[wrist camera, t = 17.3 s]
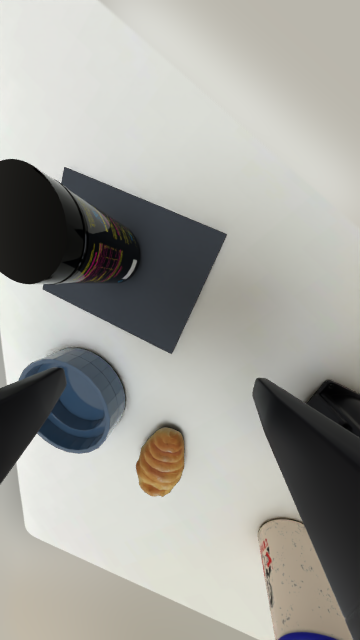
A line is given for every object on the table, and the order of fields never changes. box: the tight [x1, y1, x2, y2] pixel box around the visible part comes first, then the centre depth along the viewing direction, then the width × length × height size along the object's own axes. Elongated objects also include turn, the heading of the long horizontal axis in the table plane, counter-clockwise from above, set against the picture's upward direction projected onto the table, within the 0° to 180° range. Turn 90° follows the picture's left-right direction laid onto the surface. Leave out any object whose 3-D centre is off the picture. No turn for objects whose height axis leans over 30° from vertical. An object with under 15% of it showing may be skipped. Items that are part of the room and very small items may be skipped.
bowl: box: [19, 348, 125, 454], centre depth 24 cm, size 14×14×4 cm
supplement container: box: [0, 159, 141, 285], centre depth 15 cm, size 7×7×10 cm
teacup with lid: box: [258, 519, 353, 640], centre depth 19 cm, size 12×9×12 cm
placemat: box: [43, 167, 227, 354], centre depth 20 cm, size 20×15×1 cm
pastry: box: [136, 427, 184, 497], centre depth 23 cm, size 9×7×4 cm
